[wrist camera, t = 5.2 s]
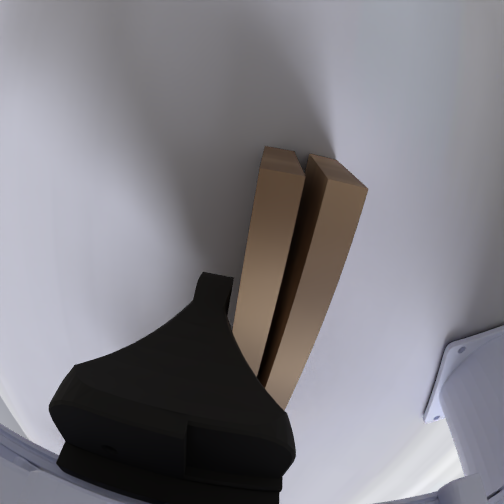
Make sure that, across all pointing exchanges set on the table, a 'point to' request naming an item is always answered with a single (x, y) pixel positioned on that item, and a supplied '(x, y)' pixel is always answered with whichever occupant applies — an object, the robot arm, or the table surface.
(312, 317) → the bar
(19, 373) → the table surface
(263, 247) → the tong arm
